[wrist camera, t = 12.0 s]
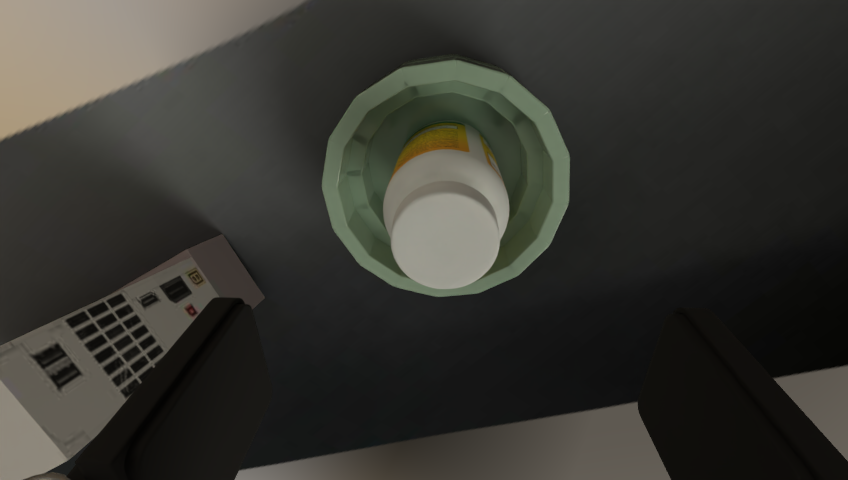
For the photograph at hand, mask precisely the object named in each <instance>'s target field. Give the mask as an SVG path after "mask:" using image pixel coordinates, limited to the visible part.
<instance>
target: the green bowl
mask: <svg viewBox="0 0 848 480" xmlns="http://www.w3.org/2000/svg"><path fill="white" fill-rule="evenodd" d="M445 120H453V121H459V122H462V123H465V124H467V125H469V126H471V127H473V128H475V129H476V130H477V131H479V132H480V133H481V134H482V135H483V136H484V138H485V139H486V140H487V142H488V144H489V145H490V147H491V149H492V152H493V154H494V157H495V159H496V162H497V165H498V168H499V171H500V174H501V176H502V179H503V182H504V185H505V188H506V191H507V194H508V199H509V218H508V223H507V226H506V229H505V232H504V234H503V236H502V238H501V240H500V246H499V251H498V255H497V257H496V259H495V261H494V263H493V265H492V266H491V268H490V269H489V270H488V271H487V272H486V273H485V274H484V275H483V276H482V277H481V278H479V279H478V280H476V281H475V282H473V283H471V284H469V285H466V286H464V287H460V288H455V289H435V288H430V287H427V286H424V285H421V284H419V283H417V282H415V281H414V280H412V279H411V278H410V277H408V276H407V275H406V274H405V273H404V272H403V271H402V270H401V269H400V267H399V266H398V264H397V262H396V261H395V259H394V257H393V253H392V250H391V238H390V236H389V234H388V232H387V229H386V226H385V222H384V217H383V203H384V197H385V193H386V190H387V187H388V184H389V182H390V179H391V177H392V174H393V171H394V169H395V166H396V163H397V160H398V158H399V156H400V153H401V151H402V148H403V146H404V145H405V143H406V141H407V140H408V139H409V137H410V136H411V135H412V134H413V133H414V132H416V131H417V130H418V129H420V128H421V127H423V126H425V125H427V124H430V123H433V122H437V121H445ZM569 184H570V156H569V152H568V150H567V147H566V145H565V143H564V140H563V138H562V136H561V134H560V131H559V129H558V127H557V124H556V122H555V120H554V118H553V115H552V113H551V111H550V110H549V108H548V107H546V106H545V105H544V104H543V103H542V102H541V101H540V100H538V99H537V98H536V97H535V96H534V95H533V94H531V93H530V92H529V91H528V90H527V89H526V88H525V87H523V86H522V85H521V84H520V83H519V82H518V81H517V80H515V79H514V78H513V77H512V76H511V75H509V74H508V73H506V72H505V71H504V70H502V69H501V68H500V67H497V66H496V65H492V64H489V63H485V62H482V61H478V60H475V59H471V58H468V57H464V56H461V55H457V54H447V55H441V56H434V57H427V58H421V59H414V60H409V61H407V62H405V63H404V64H402V65H401V66H399V67H398V68H396V69H394V70H393V71H391V72H390V73H388V74H387V75H385V76H384V77H382V78H381V79H379V80H377V81H376V82H374V83H373V84H371V85H370V86H369V87H368V88H366V89H365V90H364V91H362V92H361V93H360V94H359V95H357V96H356V97H355V98H354V100H353V101H352V103H351V104H350V106H349V108H348V109H347V111H346V112H345V114H344V115H343V117H342V118H341V120H340V122H339V123H338V125H337V126H336V128H335V129H334V131H333V132H332V134H331V136H330V137H329V140H328V144H327V150H326V157H325V164H324V170H323V177H322V184H321V185H322V191H323V195H324V198H325V202H326V206H327V210H328V213H329V217H330V221H331V225H332V228H333V229H334V232H335V233H336V234H337V236H338V237H339V238H340V240H341V241H342V242H343V244H344V245H345V246H346V248H347V249H348V250H349V252H350V253H351V254H352V256H353V257H354V258H355V260H356V261H357V262H358V263H359V265H361V266H362V267H364V268H365V269H367V270H369V271H370V272H372V273H373V274H375V275H376V276H378V277H380V278H381V279H383V280H384V281H386V282H387V283H389V284H390V285H392V286H394V287H397V288H401V289H405V290H409V291H413V292H418V293H422V294H426V295H430V296H436V297H443V296H455V295H466V294H477V293H480V292H483V291H485V290H487V289H489V288H492V287H494V286H496V285H498V284H501V283H503V282H505V281H507V280H510V279H512V278H514V277H516V276H518V275H519V274H520V273H522V272H523V271H524V270H525V269H526V268H527V267H528V266H529V265H530V264H531V263H532V262H533V261H534V260H535V259H536V258H537V257H538V256H539V255H540V254H541V253H542V252H543V251H544V250H545V249H546V248H547V247H549V245H550V243H551V241H552V239H553V237H554V235H555V233H556V231H557V228H558V226H559V224H560V222H561V220H562V217H563V215H564V213H565V211H566V209H567V206H568V203H569Z"/></svg>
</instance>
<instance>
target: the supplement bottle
mask: <svg viewBox="0 0 848 480" xmlns="http://www.w3.org/2000/svg"><path fill="white" fill-rule="evenodd" d="M383 217H384V222H385V226H386V229H387V232H388V234H389V236H390V238H391V250H392V253H393V257H394V259H395V261H396V262H397V264H398V266H399V267H400V269H401V270H402V271H403V272H404V273H405V274H406V275H407V276H408V277H410V278H411V279H412V280H414V281H415V282H417V283H419V284H421V285H424V286H427V287H430V288H435V289H455V288H460V287H464V286H466V285H469V284H471V283H473V282H475V281H476V280H478V279H479V278H481V277H482V276H483V275H484V274H485V273H486V272H487V271H488V270H489V269H490V268H491V266H492V265H493V263H494V261H495V259H496V257H497V255H498V251H499V246H500V240H501V238H502V236H503V234H504V232H505V229H506V226H507V223H508V218H509V199H508V194H507V191H506V188H505V185H504V182H503V179H502V176H501V174H500V171H499V168H498V165H497V162H496V159H495V157H494V154H493V152H492V149H491V147H490V145H489V144H488V142H487V140H486V139H485V138H484V136H483V135H482V134H481V133H480V132H479V131H477V130H476V129H475V128H473V127H471V126H469V125H467V124H465V123H462V122H459V121H453V120H445V121H437V122H433V123H430V124H427V125H425V126H423V127H421V128H420V129H418V130H417V131H416V132H414V133H413V134H412V135H411V136H410V137H409V139H408V140H407V141H406V143H405V145H404V146H403V148H402V151H401V153H400V156H399V158H398V160H397V163H396V166H395V169H394V171H393V174H392V177H391V179H390V182H389V184H388V187H387V190H386V193H385V197H384V203H383Z"/></svg>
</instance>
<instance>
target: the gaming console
mask: <svg viewBox="0 0 848 480" xmlns="http://www.w3.org/2000/svg"><path fill="white" fill-rule="evenodd" d="M216 297H230V298H242V299H243V301H244V302H245V304H248V305H250V306H251V308H252V309H253V308H254V307H255V306H257V305H258V304H259V303H260V302H261V301H262V300H263V299H264V298H265V297H264V296H263V294H262V293H261V291H260V290H259V288H258V287H257V285H256V284H255V282H254V281H253V279H252V278H251V276H250V275H249V273H248V272H247V270H246V269H245V267H244V266H243V264H242V263H241V261H240V260H239V258H238V257H237V255H236V254H235V252H234V251H233V249H232V248H231V246H230V245H229V243H228V242H227V240H226V238H225V237H224V235H223V234H221V235H219V236H217V237H214V238H212V239H210V240H207V241H205V242H203V243H200V244H198V245H196V246H193V247H191V248H188V249H186V250H185V251H183V252H181V253H180V254H178V255H176V256H174V257H173V258H171V259H169V260H168V261H166V262H164V263H163V264H161V265H159V266H157V267H156V268H154V269H152V270H151V271H149V272H147V273H146V274H144V275H142V276H140V277H139V278H137V279H135V280H134V281H132V282H130V283H129V284H127V285H125V286H123V287H122V288H120V289H118V290H117V291H115V292H113V293H112V294H110V295H108V296H106V297H104V298H102V299H100V300H98V301H96V302H94V303H92V304H89V305H87V306H85V307H83V308H81V309H79V310H76V311H74V312H72V313H70V314H68V315H66V316H63V317H61V318H59V319H57V320H55V321H53V322H51V323H48V324H46V325H44V326H42V327H40V328H38V329H35V330H33V331H31V332H29V333H27V334H25V335H22V336H20V337H18V338H16V339H14V340H12V341H9V342H7V343H5V344H3V345H1V346H0V480H23V479H26V478H29V477H31V476H34V475H38V474H43V473H45V472H47V471H49V470H51V469H53V468H55V467H56V466H58V465H60V464H62V463H64V462H66V461H68V460H69V459H70V458H72V457H73V456H74V455H75V454H76V453H77V452H78V451H80V450H81V449H82V448H83V447H84V446H85V445H86V444H88V443H89V442H90V441H91V440H92V439H93V438H94V437H96V436H97V435H98V434H99V433H100V431H101V430H102V429H103V428H104V427H105V426H106V424H107V423H108V422H109V421H110V420H111V418H112V417H113V416H114V415H115V414H116V412H117V411H118V410H119V409H120V408H121V406H122V405H123V404H124V403H125V402H126V401H127V399H128V398H129V397H130V396H131V395H132V393H133V392H134V391H135V390H136V389H137V387H138V386H139V385H140V384H141V383H142V381H143V380H144V379H145V378H146V377H147V376H148V374H149V373H150V372H151V371H152V370H153V368H154V367H155V366H156V365H157V364H158V362H159V361H160V360H161V359H162V358H163V356H164V355H165V354H166V353H167V352H168V351H169V349H170V348H171V347H172V346H173V345H174V343H175V342H176V341H177V340H178V339H179V337H180V336H181V335H182V334H183V333H184V331H185V330H186V329H187V328H188V327H189V326H190V324H191V323H192V322H193V321H194V320H195V318H196V317H197V316H198V315H199V314H200V312H201V311H202V310H203V309H204V308H205V306H206V305H207V304H208V303H209V302H210V301H211V300H212V299H213V298H216Z"/></svg>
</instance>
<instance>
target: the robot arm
mask: <svg viewBox="0 0 848 480" xmlns="http://www.w3.org/2000/svg"><path fill="white" fill-rule="evenodd" d="M271 397H272V384H271V380H270V377H269V373H268V369H267V365H266V361H265V357H264V353H263V350H262V346H261V342H260V338H259V334H258V330H257V326H256V322H255V319H254V315H253V311H252V308H251V306H250V305H248V304H245V302H244V301H243V299H242V298H230V297H216V298H213V299H212V300H211V301H210V302H209V303H208V304H207V305H206V306H205V308H204V309H203V310H202V311H201V312H200V314H199V315H198V316H197V317H196V318H195V320H194V321H193V322H192V323H191V324H190V326H189V327H188V328H187V329H186V330H185V331H184V333H183V334H182V335H181V336H180V337H179V339H178V340H177V341H176V342H175V343H174V345H173V346H172V347H171V348H170V349H169V351H168V352H167V353H166V354H165V355H164V356H163V358H162V359H161V360H160V361H159V362H158V364H157V365H156V366H155V367H154V368H153V370H152V371H151V372H150V373H149V374H148V376H147V377H146V378H145V379H144V380H143V381H142V383H141V384H140V385H139V386H138V387H137V389H136V390H135V391H134V392H133V393H132V395H131V396H130V397H129V398H128V399H127V401H126V402H125V403H124V404H123V405H122V406H121V408H120V409H119V410H118V411H117V412H116V414H115V415H114V416H113V417H112V418H111V420H110V421H109V422H108V423H107V424H106V426H105V427H104V428H103V429H102V430H101V431H100V433H99V434H98V435H97V436H96V437H95V439H94V440H93V441H92V442H91V443H90V445H89V446H88V447H87V448H86V449H85V451H84V452H83V453H82V454H81V455H80V456H79V458H78V459H77V460H76V461H75V464H76V465H75V467H74V468H73V469H72V470H71V471H70V473H69V474H68V475H67V476H65V475H64V474H59V473H52V472H51V473H44V474H38V475H34V476H31V477H29V478H26V479H23V480H234V479H235V477H236V475H237V473H238V471H239V469H240V466H241V464H242V462H243V460H244V458H245V456H246V453H247V451H248V449H249V447H250V445H251V443H252V440H253V438H254V436H255V434H256V432H257V430H258V427H259V425H260V423H261V421H262V419H263V417H264V415H265V412H266V410H267V408H268V406H269V404H270V401H271ZM638 410H639V414H640V416H641V418H642V420H643V423H644V425H645V427H646V429H647V431H648V433H649V435H650V437H651V439H652V441H653V443H654V445H655V447H656V449H657V451H658V453H659V456H660V458H661V460H662V462H663V464H664V466H665V468H666V470H667V472H668V474H669V476H670V478H671V480H848V461H847V460H846V459H845V458H844V457H843V456H842V455H841V453H840V452H839V451H838V450H837V449H836V448H835V447H834V446H833V445H832V443H831V442H830V441H829V440H828V439H827V438H826V437H825V436H824V435H823V433H822V432H820V430H819V429H818V428H817V427H816V426H815V425H814V424H813V422H812V421H811V420H810V419H809V418H808V417H807V416H806V415H805V414H804V412H803V411H802V410H801V409H800V408H799V407H798V406H797V405H796V404H795V402H794V401H793V400H792V399H791V398H790V397H789V396H788V395H787V394H786V393H785V391H783V389H782V388H781V387H780V386H779V385H778V384H777V383H776V381H775V380H774V379H773V378H772V377H771V376H770V375H769V374H768V373H767V371H766V370H765V369H764V368H763V367H762V366H761V365H760V364H759V363H758V362H757V360H756V359H755V358H754V357H753V356H752V355H751V354H750V353H749V352H748V350H747V349H746V348H745V347H744V346H743V345H742V344H741V343H740V342H739V341H738V339H737V338H736V337H735V336H734V335H733V334H732V333H731V332H730V331H729V329H728V328H727V327H726V326H725V325H724V324H723V323H722V322H721V321H720V319H719V318H718V317H717V316H716V315H715V314H714V313H713V312H712V311H711V310H709V309H706V308H677V309H676V310H675V311H674V313H673V314H669V315H668V316H667V317H666V319H665V321H664V324H663V327H662V330H661V333H660V336H659V339H658V342H657V345H656V348H655V351H654V354H653V356H652V359H651V362H650V365H649V368H648V371H647V374H646V377H645V380H644V383H643V386H642V389H641V392H640V395H639V398H638Z"/></svg>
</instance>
